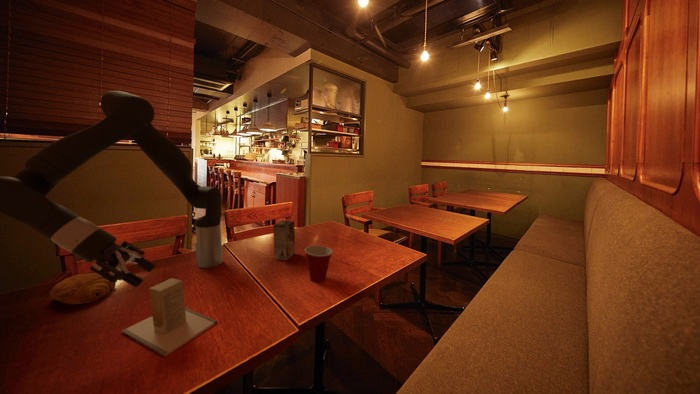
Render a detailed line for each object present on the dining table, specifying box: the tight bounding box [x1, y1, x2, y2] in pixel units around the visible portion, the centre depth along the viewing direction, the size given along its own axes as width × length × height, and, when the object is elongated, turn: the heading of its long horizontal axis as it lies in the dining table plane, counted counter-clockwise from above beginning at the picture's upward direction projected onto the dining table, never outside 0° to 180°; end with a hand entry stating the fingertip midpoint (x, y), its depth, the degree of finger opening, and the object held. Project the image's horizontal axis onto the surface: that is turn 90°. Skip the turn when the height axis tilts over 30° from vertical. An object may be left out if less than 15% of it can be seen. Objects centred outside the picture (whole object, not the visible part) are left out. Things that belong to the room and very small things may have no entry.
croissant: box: [49, 272, 118, 306], centre depth 85 cm, size 14×16×8 cm
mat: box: [121, 307, 218, 357], centre depth 71 cm, size 18×14×1 cm
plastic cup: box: [304, 245, 334, 283], centre depth 100 cm, size 11×11×12 cm
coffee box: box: [273, 220, 296, 261], centre depth 121 cm, size 9×6×16 cm
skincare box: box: [148, 277, 186, 334], centre depth 69 cm, size 6×4×12 cm
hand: (146, 275), depth 70 cm, fingers open, 8 cm apart
